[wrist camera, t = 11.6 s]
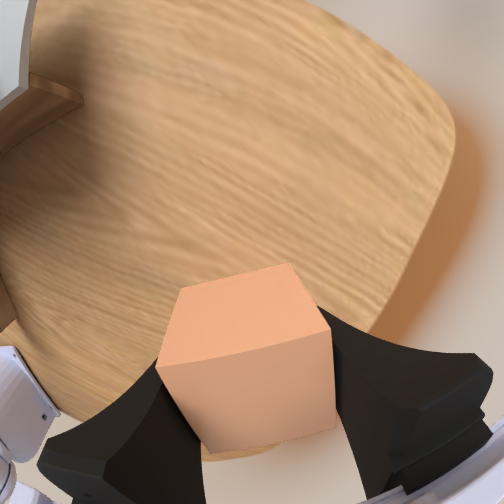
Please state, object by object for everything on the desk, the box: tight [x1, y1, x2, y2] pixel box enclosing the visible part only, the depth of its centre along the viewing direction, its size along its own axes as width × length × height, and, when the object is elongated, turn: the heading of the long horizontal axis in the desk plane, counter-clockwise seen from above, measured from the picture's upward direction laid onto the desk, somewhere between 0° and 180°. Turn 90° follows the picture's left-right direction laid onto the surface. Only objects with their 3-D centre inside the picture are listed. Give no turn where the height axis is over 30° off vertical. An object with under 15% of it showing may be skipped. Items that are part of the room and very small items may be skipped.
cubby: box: [0, 72, 83, 333], centre depth 12 cm, size 14×14×6 cm
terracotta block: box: [155, 263, 336, 454], centre depth 9 cm, size 4×4×5 cm
